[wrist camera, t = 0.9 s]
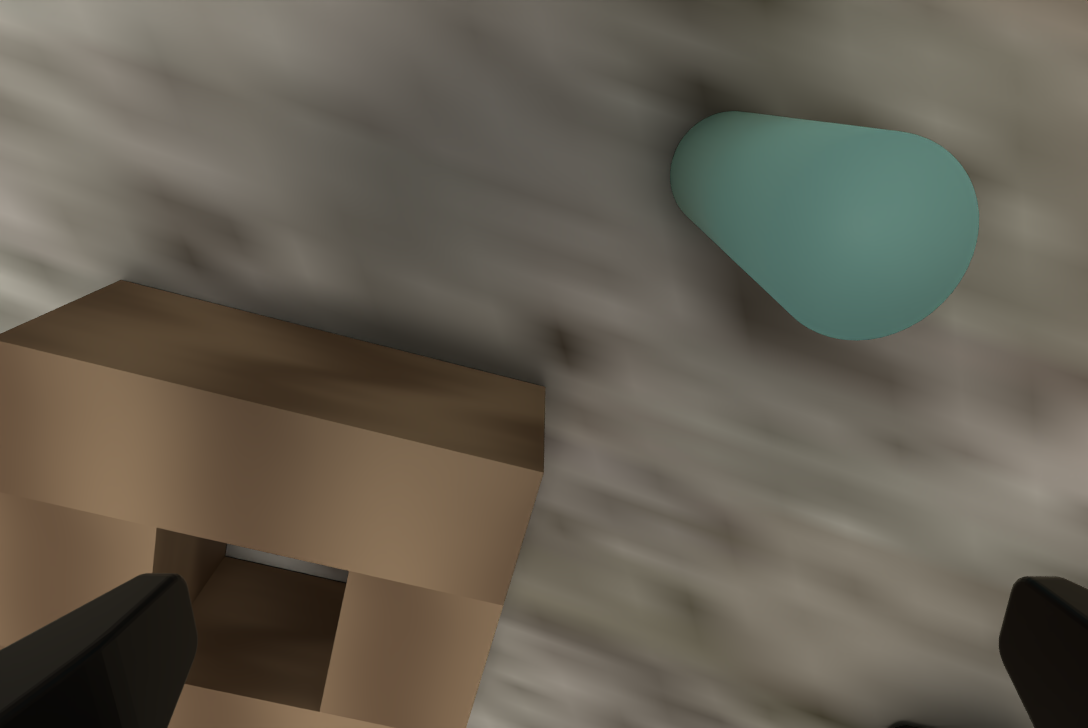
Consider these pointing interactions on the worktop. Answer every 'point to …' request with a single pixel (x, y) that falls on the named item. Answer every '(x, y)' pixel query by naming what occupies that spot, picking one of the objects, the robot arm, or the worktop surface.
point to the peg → (831, 216)
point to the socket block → (267, 502)
